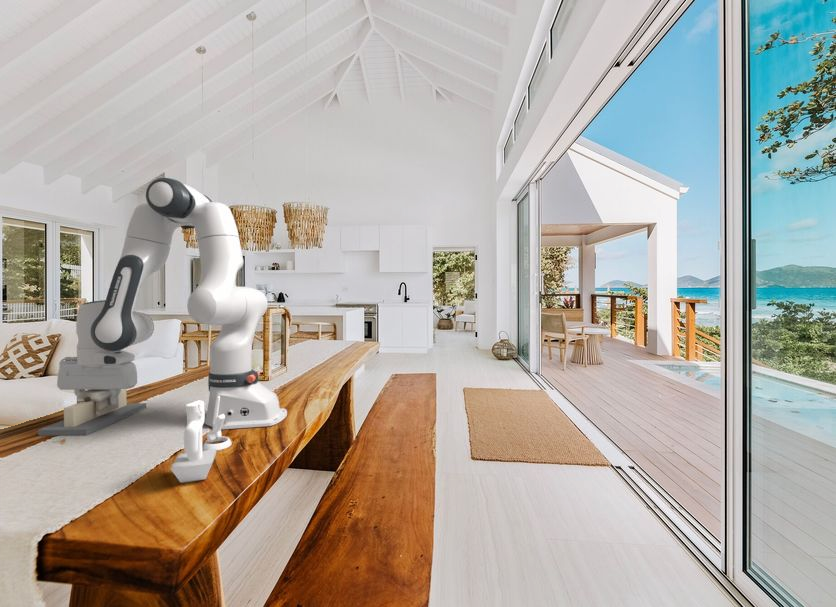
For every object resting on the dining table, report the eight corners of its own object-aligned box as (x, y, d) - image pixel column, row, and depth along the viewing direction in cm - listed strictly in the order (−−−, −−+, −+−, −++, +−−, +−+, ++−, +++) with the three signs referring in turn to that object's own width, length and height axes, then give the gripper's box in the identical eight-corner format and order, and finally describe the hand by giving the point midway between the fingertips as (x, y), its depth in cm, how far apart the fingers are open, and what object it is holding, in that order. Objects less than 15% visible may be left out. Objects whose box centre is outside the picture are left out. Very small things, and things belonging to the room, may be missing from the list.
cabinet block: (118, 407, 117) (118, 387, 117) (98, 416, 110) (97, 393, 109) (96, 407, 117) (96, 387, 117) (74, 416, 109) (74, 394, 109)
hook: (224, 437, 89) (206, 422, 90) (212, 465, 93) (194, 450, 94) (244, 423, 95) (227, 409, 96) (232, 450, 99) (215, 435, 100)
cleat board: (146, 407, 126) (146, 387, 126) (86, 435, 102) (85, 410, 102) (107, 408, 125) (107, 388, 125) (38, 435, 101) (37, 410, 101)
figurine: (168, 490, 74) (167, 411, 74) (180, 468, 83) (179, 398, 82) (211, 483, 76) (210, 407, 76) (218, 463, 85) (217, 395, 85)
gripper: (49, 358, 110) (51, 407, 110) (125, 358, 110) (126, 407, 111) (69, 355, 116) (70, 401, 116) (140, 354, 117) (141, 400, 117)
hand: (98, 404), depth 114 cm, fingers closed on cabinet block, 6 cm apart
